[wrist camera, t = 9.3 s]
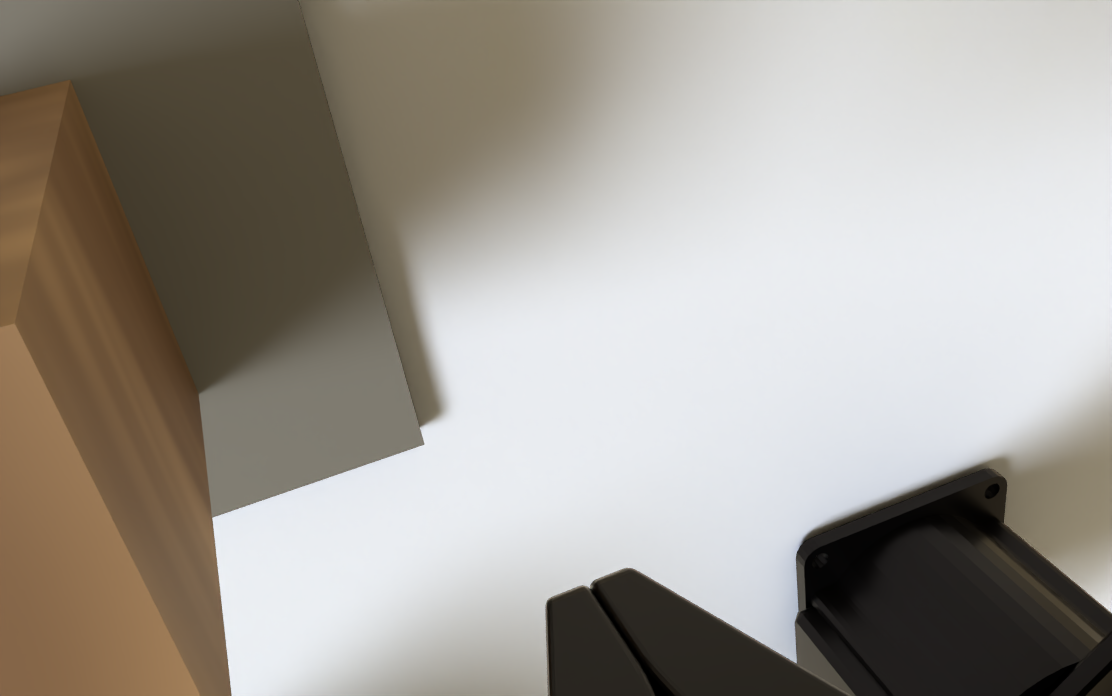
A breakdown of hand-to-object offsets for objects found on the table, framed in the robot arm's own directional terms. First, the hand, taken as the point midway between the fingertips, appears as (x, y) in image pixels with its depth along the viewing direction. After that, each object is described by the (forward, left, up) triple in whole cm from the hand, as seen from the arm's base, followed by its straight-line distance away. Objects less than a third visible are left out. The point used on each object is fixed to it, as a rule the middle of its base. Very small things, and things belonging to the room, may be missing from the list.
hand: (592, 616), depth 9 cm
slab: (+5, 0, -11) cm, 12 cm away
